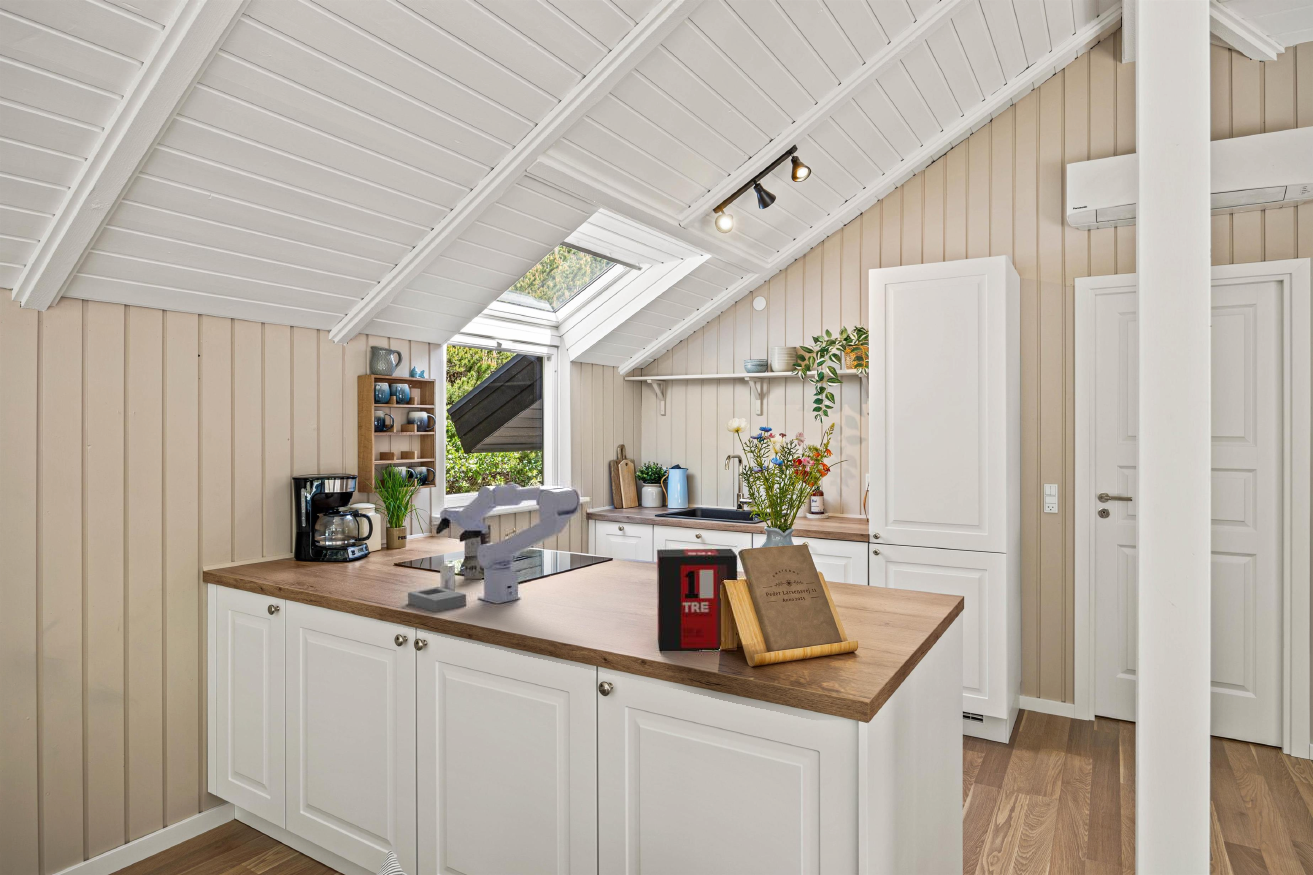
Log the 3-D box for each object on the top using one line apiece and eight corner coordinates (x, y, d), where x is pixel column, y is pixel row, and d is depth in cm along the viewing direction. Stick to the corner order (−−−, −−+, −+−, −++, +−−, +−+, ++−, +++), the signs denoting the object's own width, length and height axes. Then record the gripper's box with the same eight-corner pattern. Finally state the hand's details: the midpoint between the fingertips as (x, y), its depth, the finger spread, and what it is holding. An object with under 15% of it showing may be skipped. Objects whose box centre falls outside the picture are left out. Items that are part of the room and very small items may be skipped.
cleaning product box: (659, 652, 147) (658, 556, 146) (657, 639, 155) (657, 549, 155) (737, 650, 147) (737, 555, 147) (731, 638, 156) (731, 548, 156)
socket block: (466, 605, 187) (466, 594, 187) (435, 612, 180) (435, 600, 180) (437, 597, 196) (437, 586, 196) (408, 603, 189) (407, 592, 189)
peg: (457, 592, 202) (457, 564, 202) (445, 594, 199) (445, 566, 199) (450, 590, 205) (449, 563, 205) (437, 592, 202) (437, 565, 202)
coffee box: (484, 579, 220) (483, 527, 220) (464, 579, 220) (463, 528, 220) (491, 573, 229) (491, 524, 229) (472, 573, 229) (471, 524, 229)
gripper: (496, 509, 206) (471, 531, 213) (453, 492, 198) (427, 515, 204) (496, 528, 201) (470, 550, 208) (451, 512, 193) (425, 536, 200)
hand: (449, 534), depth 206 cm, fingers open, 7 cm apart
